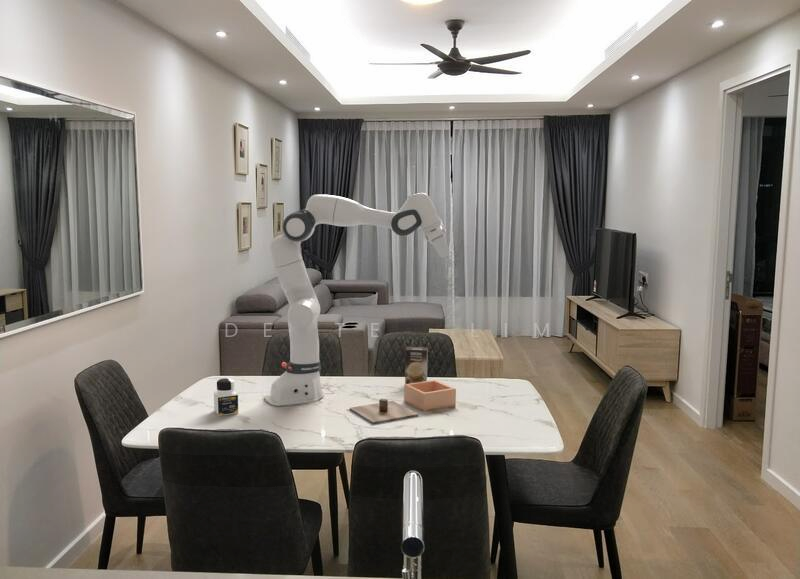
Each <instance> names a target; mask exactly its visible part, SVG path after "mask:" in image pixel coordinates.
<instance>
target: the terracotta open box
mask: <svg viewBox="0 0 800 579" xmlns="http://www.w3.org/2000/svg"><path fill="white" fill-rule="evenodd" d="M403 387H404V388H403V401H404V402H405V403H407V404H409V405H410V406H411V405H412V406H413V407H415V408H417V409H419V410H421V411H423V412H427V411H433V410H438V409H443V408H448V409H452V408H455V407H456V402H457V399H456V398H457V389H456V388H455V387H453V386H450V385H448V384H445V383H443V382H441V381H439V380H437V379H433V380H427V381H424V382H418V383H411V384H405V383H404V386H403Z"/></svg>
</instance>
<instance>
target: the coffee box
mask: <svg viewBox="0 0 800 579" xmlns="http://www.w3.org/2000/svg"><path fill="white" fill-rule="evenodd" d="M428 353H429V348H428V347H425V346H424V347H423V346H407V347H406V348H405V364H404V366H405V367H404V368H405V369H404V371H405V372H404V385H405V384H411V383H418V382H424V381H428V361H429V360H428Z"/></svg>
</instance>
